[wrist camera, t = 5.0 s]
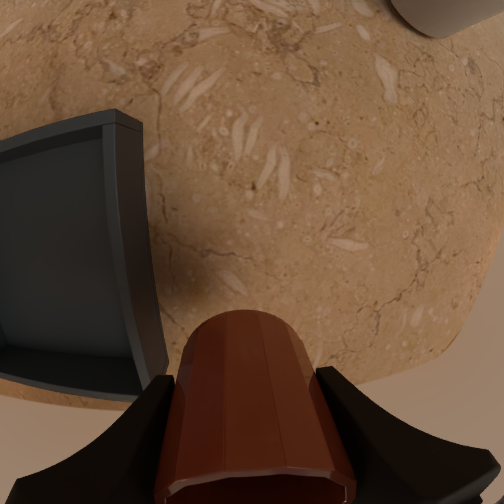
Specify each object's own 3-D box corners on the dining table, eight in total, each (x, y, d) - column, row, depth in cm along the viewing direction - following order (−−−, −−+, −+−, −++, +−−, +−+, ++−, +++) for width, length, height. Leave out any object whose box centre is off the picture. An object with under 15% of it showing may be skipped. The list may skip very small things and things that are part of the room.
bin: (169, 362, 20) (157, 404, 16) (10, 347, 19) (-16, 373, 15) (143, 122, 16) (115, 107, 11) (-27, 166, 15) (-64, 171, 10)
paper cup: (300, 398, 13) (338, 526, 6) (191, 404, 12) (176, 537, 6) (308, 305, 11) (382, 447, 4) (174, 310, 11) (123, 463, 4)
